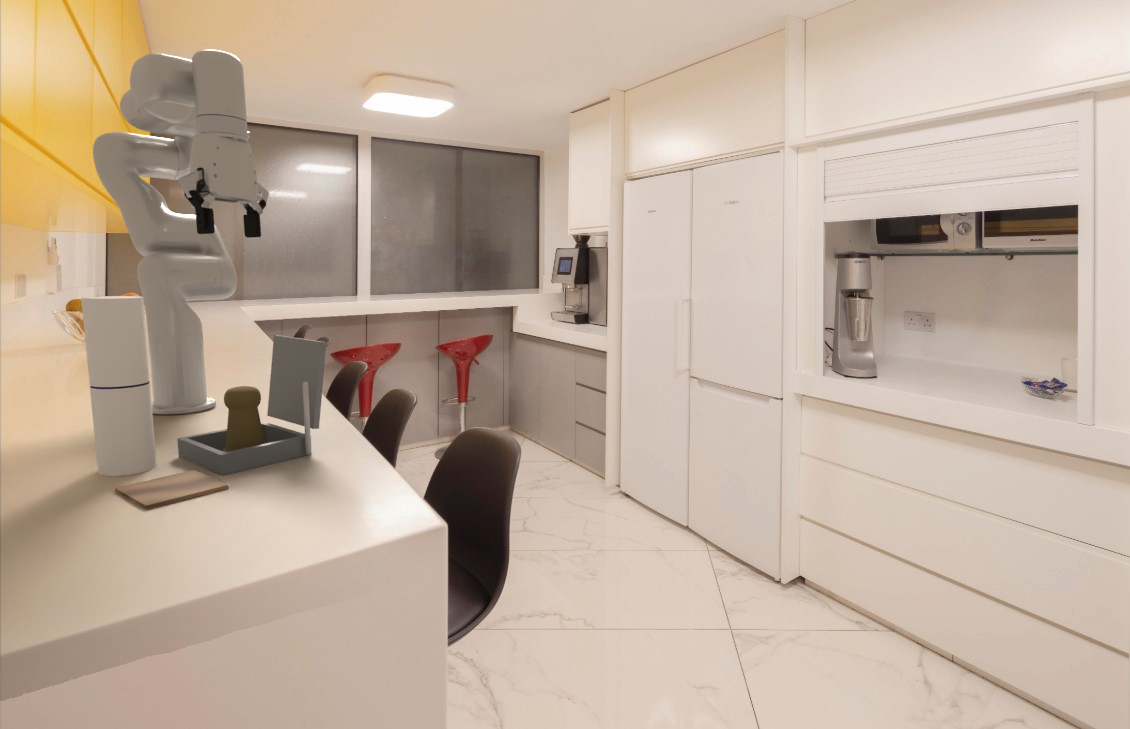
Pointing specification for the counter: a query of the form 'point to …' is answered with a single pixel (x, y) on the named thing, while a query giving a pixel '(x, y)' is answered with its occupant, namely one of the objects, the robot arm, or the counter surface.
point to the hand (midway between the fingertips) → (230, 235)
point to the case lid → (296, 379)
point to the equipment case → (277, 449)
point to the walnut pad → (170, 489)
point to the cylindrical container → (119, 384)
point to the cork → (243, 418)
